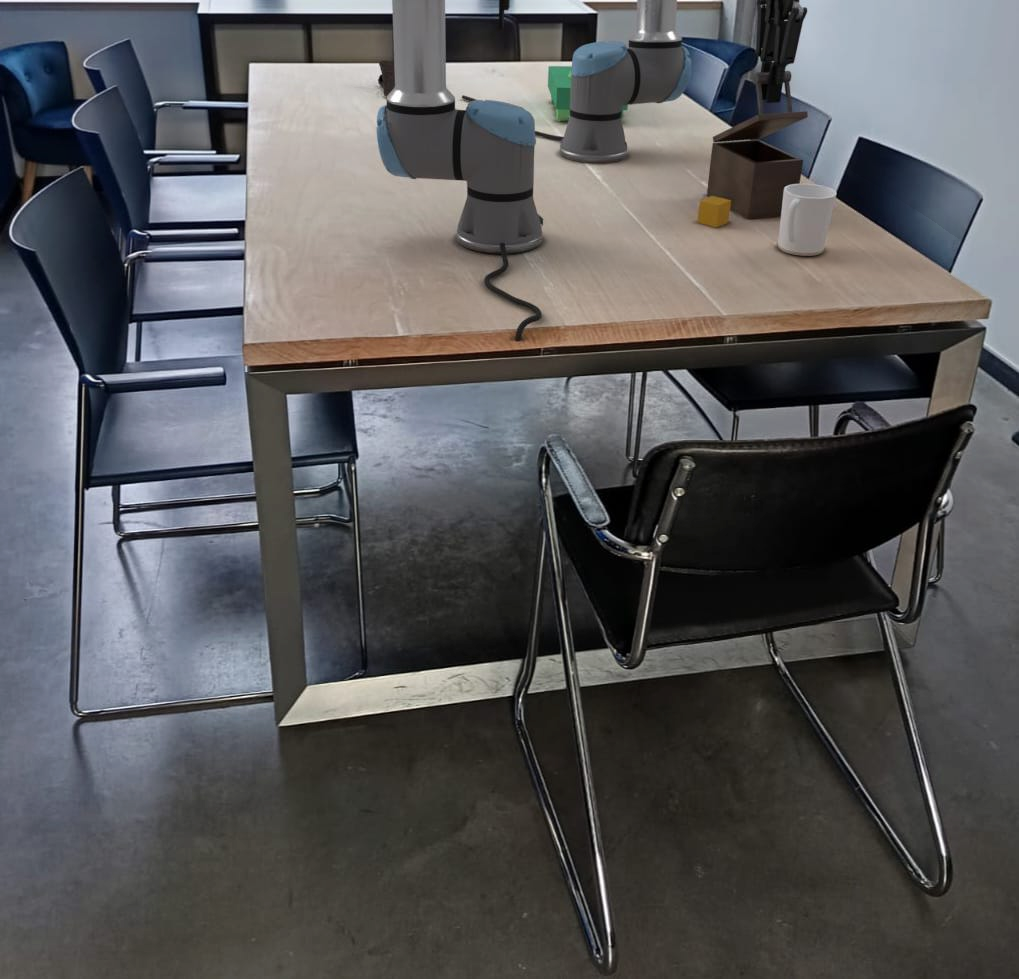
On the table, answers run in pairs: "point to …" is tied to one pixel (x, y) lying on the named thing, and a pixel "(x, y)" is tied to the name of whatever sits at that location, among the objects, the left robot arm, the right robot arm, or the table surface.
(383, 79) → the axe head
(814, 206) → the mug
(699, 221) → the block
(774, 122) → the lid
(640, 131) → the table surface
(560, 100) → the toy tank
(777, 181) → the chest
